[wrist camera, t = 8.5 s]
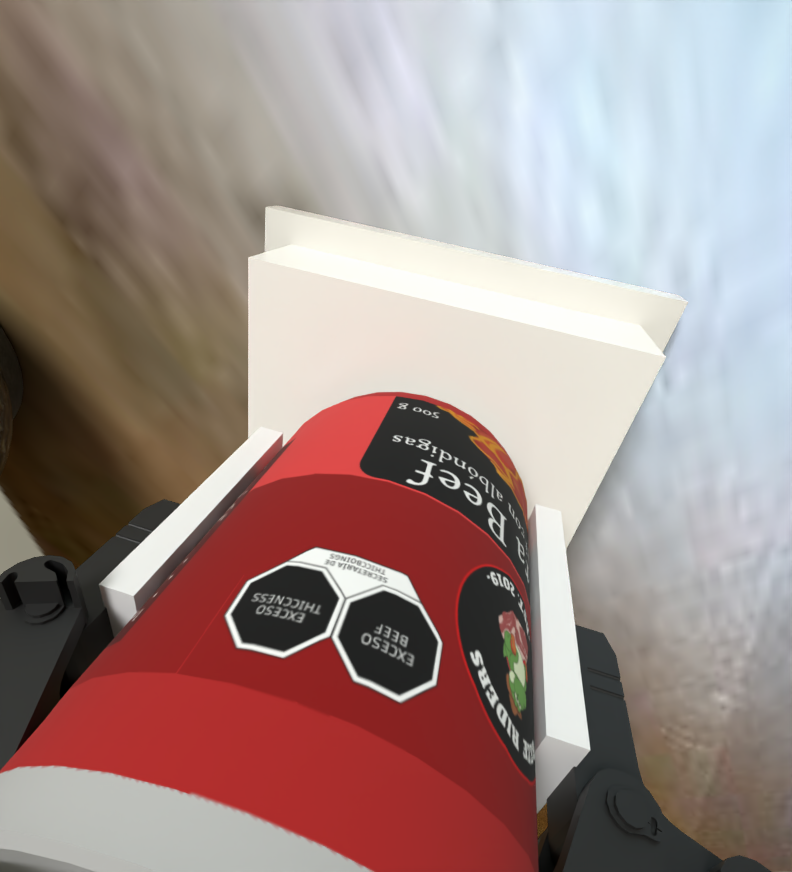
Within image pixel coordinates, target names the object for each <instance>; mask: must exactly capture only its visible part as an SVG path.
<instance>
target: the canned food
mask: <svg viewBox="0 0 792 872" xmlns="http://www.w3.org/2000/svg"><path fill="white" fill-rule="evenodd" d="M0 872H539V868H538V836H537V805H536V773H535V741H534V709H533V677H532V645H531V613H530V581H529V550H528V518H527V500H526V496H525V491H524V487H523V483H522V480H521V478H520V476H519V474H518V472H517V470H516V468H515V466H514V464H513V462H512V460H511V459H510V457H509V455H508V454H507V452H506V450H505V449H504V448H503V446H502V445H501V444H500V443H499V441H498V440H497V439H496V438H495V437H494V435H493V434H492V433H491V432H490V431H489V430H488V429H487V428H486V427H484V426H483V425H482V424H481V423H479V422H478V421H477V420H476V419H475V418H473V417H472V416H471V415H469V414H467V413H465V412H463V411H462V410H460V409H458V408H456V407H454V406H453V405H451V404H448V403H445V402H442V401H440V400H437V399H434V398H431V397H428V396H424V395H418V394H412V393H405V392H376V393H371V394H366V395H361V396H356V397H353V398H351V399H348V400H345V401H343V402H340V403H338V404H336V405H333V406H331V407H328V408H326V409H324V410H321V411H320V412H319V413H317V414H316V415H315V416H313V417H312V418H310V419H309V420H308V421H306V422H305V423H304V424H303V425H302V426H301V427H300V428H299V429H298V430H297V432H296V433H295V434H294V435H293V436H292V437H291V438H290V440H289V441H288V442H287V443H286V444H285V445H284V446H283V447H282V449H281V450H280V451H279V452H278V453H277V454H276V455H275V457H274V458H273V459H272V460H271V461H270V462H269V463H268V464H267V466H266V467H265V468H264V469H263V470H262V471H261V472H260V473H259V475H258V476H257V477H256V478H255V479H254V480H253V481H252V483H251V484H250V485H249V486H248V487H247V488H246V489H245V490H244V492H243V493H242V494H241V495H240V496H239V497H238V498H237V500H236V501H235V502H234V503H233V504H232V505H231V506H230V507H229V509H228V510H227V511H226V512H225V513H224V514H223V515H222V517H221V518H220V519H219V520H218V521H217V522H216V523H215V524H214V526H213V527H212V528H211V529H210V530H209V531H208V532H207V534H206V535H205V536H204V537H203V538H202V539H201V540H200V541H199V543H198V544H197V545H196V546H195V547H194V548H193V549H192V551H191V552H190V553H189V554H188V555H187V556H186V557H185V558H184V560H183V561H182V562H181V563H180V564H179V565H178V566H177V568H176V569H175V570H174V571H173V572H172V573H171V574H170V575H169V577H168V578H167V579H166V580H165V581H164V582H163V583H162V585H161V586H160V587H159V588H158V589H157V590H156V591H155V592H154V594H153V595H152V596H151V597H150V598H149V599H148V600H147V602H146V603H145V604H144V605H143V606H142V607H141V608H140V609H139V611H138V612H137V613H136V614H135V615H134V616H133V617H132V619H131V620H130V621H129V622H128V623H127V624H126V625H125V626H124V628H123V629H122V630H121V631H120V632H119V633H118V634H117V636H116V637H115V638H114V639H113V640H112V641H111V642H110V643H109V645H108V646H107V647H106V648H105V649H104V650H103V651H102V653H101V654H100V655H99V656H98V657H97V658H96V659H95V660H94V662H93V663H92V664H91V665H90V666H89V667H88V668H87V670H86V671H85V672H84V673H83V674H82V675H81V676H80V677H79V679H78V680H77V681H76V682H75V683H74V684H73V685H72V687H71V688H70V689H69V690H68V691H67V692H66V694H65V695H64V696H63V697H62V698H61V700H60V701H59V702H58V703H57V705H56V706H55V707H54V708H53V710H52V711H51V712H50V714H49V715H48V716H47V717H46V719H45V720H44V721H43V722H42V723H41V724H40V726H39V727H38V728H37V729H36V730H35V731H34V732H33V734H32V735H31V736H30V737H29V738H28V739H27V740H26V742H25V743H24V744H23V745H22V746H21V747H20V748H19V750H18V751H17V752H16V753H15V754H14V755H13V757H12V758H11V759H10V760H9V761H8V762H7V763H6V765H5V766H4V767H3V768H2V769H1V770H0Z"/></svg>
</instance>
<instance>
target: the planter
mask: <svg viewBox="0 0 792 872" xmlns="http://www.w3.org/2000/svg"><path fill="white" fill-rule="evenodd" d="M22 397H23V378H22V373H21V368H20V365H19V362H18V359H17V356H16V354H15V352H14V350H13V347H12V345H11V343H10V342H9V340H8V338H7V336H6V335H5V333H4V331H3V330H2V328H1V327H0V476H1V474H2V472H3V469H4V467H5V464H6V462H7V459H8V455H9V452H10V446H11V440H12V434H13V419H14V418H15V416H16V414H17V412H18V410H19V408H20V405H21V402H22Z"/></svg>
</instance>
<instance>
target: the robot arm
mask: <svg viewBox="0 0 792 872" xmlns="http://www.w3.org/2000/svg"><path fill="white" fill-rule="evenodd" d="M282 447H283V433H282V432H278V431H275V430H271V429H267V428H264V427H260V428H259V429H258V430H257V431H256V432H255V433H254V434H253V435H252V436H251V437H250V438H249V439H248V440H247V441H246V442H245V443H244V444H242V445H241V446H240V447H239V448H238V449H237V450H236V451H235V452H234V453H233V454H232V455H231V456H230V457H229V458H228V459H227V460H226V461H225V462H224V463H223V464H222V465H221V466H220V467H219V468H218V469H217V470H216V471H215V472H214V473H213V474H212V475H211V476H210V477H209V478H208V479H206V480H205V481H204V482H203V483H202V484H201V485H200V486H199V487H198V488H197V489H196V490H195V491H194V492H193V493H192V494H191V495H190V496H189V497H188V498H187V499H186V500H185V501H184V502H183V503H182V504H178V503H175V502H172V501H168V500H165V499H164V500H162V501H160V502H158V503H155V504H153V505H151V506H149V507H147V508H145V509H143V510H142V511H141V512H140V513H139V514H138V515H137V516H136V517H134V518H133V519H132V520H131V521H130V522H129V524H128V525H127V526H126V525H125V526H124V527H123V528H122V529H121V530H120V531H119V532H118V533H116V536H115V537H112V538H111V539H110V540H109V541H107V542H106V543H105V544H104V545H103V546H102V547H101V548H100V549H98V550H97V551H96V552H95V553H94V554H93V555H92V556H91V557H89V558H88V559H87V560H86V561H85V562H84V563H83V564H82V565H80V566H79V567H78V568H77V569H76V570H75V568H74V566H73V564H72V562H71V561H69V560H67V559H65V558H64V557H59V556H51V555H48V556H40V557H34V558H31V559H28V560H25V561H23V562H20V563H17V564H16V565H14V566H13V567H11V568H9V569H8V570H6V571H4V572H3V573H2V574H1V575H0V770H1V769H2V768H3V767H4V766H5V765H6V763H7V762H8V761H9V760H10V759H11V758H12V757H13V755H14V754H15V753H16V752H17V751H18V750H19V748H20V747H21V746H22V745H23V744H24V743H25V742H26V740H27V739H28V738H29V737H30V736H31V735H32V734H33V732H34V731H35V730H36V729H37V728H38V727H39V726H40V724H41V723H42V722H43V721H44V720H45V719H46V717H47V716H48V715H49V714H50V712H51V711H52V710H53V708H54V707H55V706H56V705H57V703H58V702H59V701H60V700H61V698H62V697H63V696H64V695H65V694H66V692H67V691H68V690H69V689H70V688H71V687H72V685H73V684H74V683H75V682H76V681H77V680H78V679H79V677H80V676H81V675H82V674H83V673H84V672H85V671H86V670H87V668H88V667H89V666H90V665H91V664H92V663H93V662H94V660H95V659H96V658H97V657H98V656H99V655H100V654H101V653H102V651H103V650H104V649H105V648H106V647H107V646H108V645H109V643H110V642H111V641H112V640H113V639H114V638H115V637H116V636H117V634H118V633H119V632H120V631H121V630H122V629H123V628H124V626H125V625H126V624H127V623H128V622H129V621H130V620H131V619H132V617H133V616H134V615H135V614H136V613H137V612H138V611H139V609H140V608H141V607H142V606H143V605H144V604H145V603H146V602H147V600H148V599H149V598H150V597H151V596H152V595H153V594H154V592H155V591H156V590H157V589H158V588H159V587H160V586H161V585H162V583H163V582H164V581H165V580H166V579H167V578H168V577H169V575H170V574H171V573H172V572H173V571H174V570H175V569H176V568H177V566H178V565H179V564H180V563H181V562H182V561H183V560H184V558H185V557H186V556H187V555H188V554H189V553H190V552H191V551H192V549H193V548H194V547H195V546H196V545H197V544H198V543H199V541H200V540H201V539H202V538H203V537H204V536H205V535H206V534H207V532H208V531H209V530H210V529H211V528H212V527H213V526H214V524H215V523H216V522H217V521H218V520H219V519H220V518H221V517H222V515H223V514H224V513H225V512H226V511H227V510H228V509H229V507H230V506H231V505H232V504H233V503H234V502H235V501H236V500H237V498H238V497H239V496H240V495H241V494H242V493H243V492H244V490H245V489H246V488H247V487H248V486H249V485H250V484H251V483H252V481H253V480H254V479H255V478H256V477H257V476H258V475H259V473H260V472H261V471H262V470H263V469H264V468H265V467H266V466H267V464H268V463H269V462H270V461H271V460H272V459H273V458H274V457H275V455H276V454H277V453H278V452H279V451H280V450H281V449H282ZM528 550H529V581H530V613H531V645H532V677H533V709H534V741H535V773H536V805H537V814H538V812H539V811H540V810H541V809H542V808H543V806H544V805H545V804H546V803H547V815H548V828H547V829H546V830H545V831H544V832H543V833H542V834H541V835H540V836H539V838H538V868H539V872H771V871H770V870H768V869H767V868H765V867H764V866H763V865H761V864H760V863H758V862H757V861H755V860H752V859H749V858H746V857H743V856H740V855H739V856H735V857H731V858H727V859H725V860H724V861H722V860H721V859H720V858H718V857H717V856H715V855H714V854H712V853H711V852H710V851H708V850H707V849H705V848H704V847H703V846H701V845H700V844H698V843H697V842H695V841H694V840H693V839H691V838H690V837H688V836H687V835H686V834H684V833H683V832H681V831H680V830H679V829H678V828H677V827H675V826H674V825H673V824H672V823H671V822H669V821H668V820H667V818H666V817H665V816H664V815H663V814H662V812H661V809H660V807H659V806H658V804H657V802H656V801H655V799H654V798H653V796H652V795H651V793H650V792H649V791H648V790H647V789H646V788H645V786H644V784H643V782H642V779H641V775H640V772H639V768H638V763H637V758H636V753H635V748H634V743H633V738H632V733H631V728H630V723H629V718H628V713H627V708H626V703H625V701H624V699H623V698H624V693H623V688H622V683H621V682H620V673H619V668H618V663H617V658H616V655H615V653H614V651H613V649H612V648H611V646H610V644H609V642H608V641H607V639H606V637H605V635H604V634H603V633H600V632H597V631H594V630H590V629H587V628H584V627H581V626H577V625H575V621H574V613H573V605H572V596H571V588H570V580H569V572H568V564H567V556H566V548H565V540H564V531H563V523H562V515H561V511H558V510H555V509H551V508H547V507H544V506H540V505H537V504H535V506H534V508H533V511H532V513H531V515H530V518H529V520H528Z"/></svg>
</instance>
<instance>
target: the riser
mask: <svg viewBox="0 0 792 872" xmlns="http://www.w3.org/2000/svg"><path fill="white" fill-rule="evenodd" d="M687 304H688V302H687V301H686V300H685V299H683V298H682V297H681V296H679V295H676V294H672V293H667V292H663V291H658V290H654V289H650V288H645V287H641V286H636V285H632V284H627V283H623V282H618V281H614V280H609V279H605V278H600V277H596V276H591V275H587V274H583V273H578V272H574V271H569V270H565V269H560V268H556V267H551V266H547V265H542V264H538V263H533V262H529V261H524V260H520V259H515V258H511V257H507V256H502V255H498V254H493V253H489V252H484V251H480V250H475V249H471V248H466V247H462V246H457V245H453V244H448V243H444V242H440V241H435V240H431V239H426V238H422V237H417V236H413V235H408V234H404V233H399V232H395V231H390V230H386V229H381V228H377V227H372V226H368V225H364V224H359V223H355V222H350V221H346V220H341V219H337V218H332V217H328V216H323V215H319V214H314V213H310V212H305V211H301V210H296V209H292V208H288V207H283V206H271V207H266V215H265V253H261V254H258V255H255V256H251V257H248V439H249V438H250V437H251V436H252V435H253V434H254V433H255V432H256V431H257V430H258V429H259V428H260V427H264V428H267V429H271V430H275V431H278V432H282V433H283V446H284V445H285V444H286V443H287V442H288V441H289V440H290V438H291V437H292V436H293V435H294V434H295V433H296V432H297V430H298V429H299V428H300V427H301V426H302V425H303V424H304V423H305V422H306V421H308V420H309V419H310V418H312V417H313V416H315V415H316V414H317V413H319V412H320V411H321V410H324V409H326V408H328V407H331V406H333V405H336V404H338V403H340V402H343V401H345V400H348V399H351V398H353V397H356V396H361V395H366V394H371V393H376V392H405V393H412V394H418V395H424V396H428V397H431V398H434V399H437V400H440V401H442V402H445V403H448V404H451V405H453V406H454V407H456V408H458V409H460V410H462V411H463V412H465V413H467V414H469V415H471V416H472V417H473V418H475V419H476V420H477V421H478V422H479V423H481V424H482V425H483V426H484V427H486V428H487V429H488V430H489V431H490V432H491V433H492V434H493V435H494V437H495V438H496V439H497V440H498V441H499V443H500V444H501V445H502V446H503V448H504V449H505V450H506V452H507V454H508V455H509V457H510V459H511V460H512V462H513V464H514V466H515V468H516V470H517V472H518V474H519V476H520V478H521V480H522V483H523V487H524V491H525V496H526V500H527V518H528V520H529V518H530V515H531V513H532V511H533V508H534V506H535V504H537V505H540V506H544V507H547V508H551V509H555V510H558V511H561V515H562V523H563V531H564V540H565V548H566V549H567V547H568V545H569V543H570V541H571V539H572V537H573V535H574V533H575V532H576V530H577V528H578V526H579V524H580V522H581V520H582V518H583V516H584V514H585V512H586V510H587V508H588V507H589V505H590V503H591V501H592V499H593V497H594V495H595V493H596V491H597V489H598V487H599V485H600V483H601V481H602V480H603V478H604V476H605V474H606V472H607V470H608V468H609V466H610V464H611V462H612V460H613V458H614V456H615V454H616V453H617V451H618V449H619V447H620V445H621V443H622V441H623V439H624V437H625V435H626V433H627V431H628V429H629V427H630V426H631V424H632V422H633V420H634V418H635V416H636V414H637V412H638V410H639V408H640V406H641V404H642V402H643V400H644V399H645V397H646V395H647V393H648V391H649V389H650V387H651V385H652V383H653V381H654V379H655V377H656V375H657V374H658V372H659V370H660V368H661V366H662V364H663V362H664V360H665V358H666V356H665V355H664V354H663V353H662V352H663V350H664V348H665V347H666V345H667V343H668V341H669V339H670V337H671V335H672V333H673V331H674V329H675V327H676V325H677V323H678V321H679V319H680V317H681V315H682V313H683V311H684V309H685V307H686V305H687Z"/></svg>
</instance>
